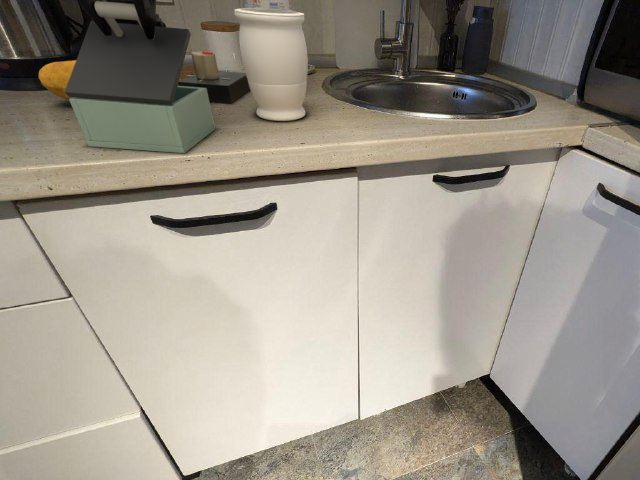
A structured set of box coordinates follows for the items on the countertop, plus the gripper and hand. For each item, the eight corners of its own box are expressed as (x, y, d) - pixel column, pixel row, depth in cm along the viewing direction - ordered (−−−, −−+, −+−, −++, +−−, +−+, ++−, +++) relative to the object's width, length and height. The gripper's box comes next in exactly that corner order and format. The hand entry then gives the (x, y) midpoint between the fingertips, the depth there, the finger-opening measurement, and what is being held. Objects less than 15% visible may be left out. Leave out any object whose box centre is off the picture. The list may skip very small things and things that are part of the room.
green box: (133, 122, 61) (118, 80, 57) (215, 129, 61) (206, 87, 58) (88, 146, 52) (68, 98, 49) (184, 153, 53) (171, 106, 49)
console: (204, 85, 82) (200, 68, 80) (251, 89, 83) (248, 72, 81) (179, 99, 73) (174, 80, 71) (231, 103, 73) (227, 84, 71)
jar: (272, 104, 75) (259, 6, 65) (321, 112, 73) (316, 12, 63) (237, 117, 67) (218, 8, 57) (292, 127, 65) (281, 15, 55)
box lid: (94, 26, 52) (66, -13, 48) (191, 34, 53) (173, -4, 48) (69, 97, 49) (36, 63, 44) (172, 105, 49) (150, 72, 45)
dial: (191, 78, 74) (185, 51, 71) (205, 74, 77) (199, 48, 74) (210, 80, 73) (205, 53, 71) (223, 77, 76) (218, 51, 74)
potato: (143, 110, 66) (129, 64, 62) (45, 111, 62) (22, 61, 58) (150, 98, 72) (137, 55, 68) (60, 98, 68) (41, 53, 64)
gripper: (198, -124, 46) (226, 34, 56) (34, -141, 46) (92, 23, 56) (152, -143, 38) (195, 48, 48) (-51, -164, 37) (37, 34, 47)
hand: (130, 37), depth 50 cm, fingers closed on box lid, 5 cm apart
